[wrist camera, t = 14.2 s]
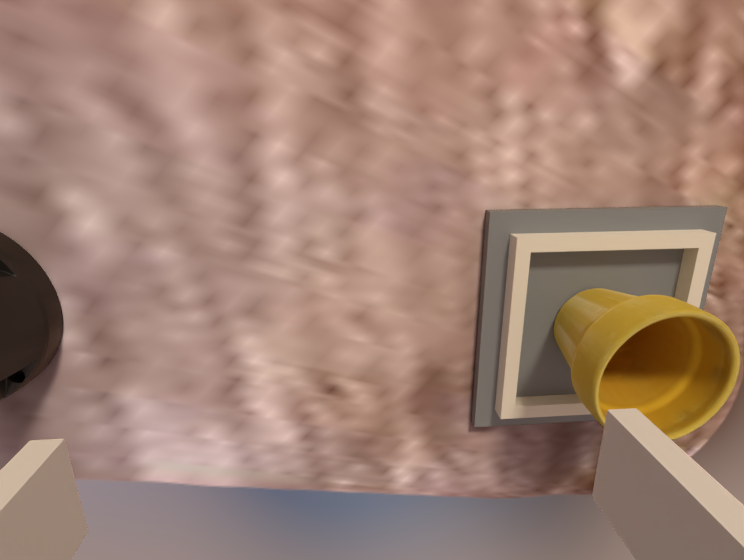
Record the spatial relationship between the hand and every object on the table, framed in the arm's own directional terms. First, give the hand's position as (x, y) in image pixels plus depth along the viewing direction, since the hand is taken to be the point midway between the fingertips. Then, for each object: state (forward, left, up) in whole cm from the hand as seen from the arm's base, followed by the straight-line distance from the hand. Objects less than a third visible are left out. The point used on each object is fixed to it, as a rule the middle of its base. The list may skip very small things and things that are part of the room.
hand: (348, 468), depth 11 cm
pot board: (+22, -8, -27) cm, 36 cm away
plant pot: (+22, -8, -26) cm, 35 cm away
